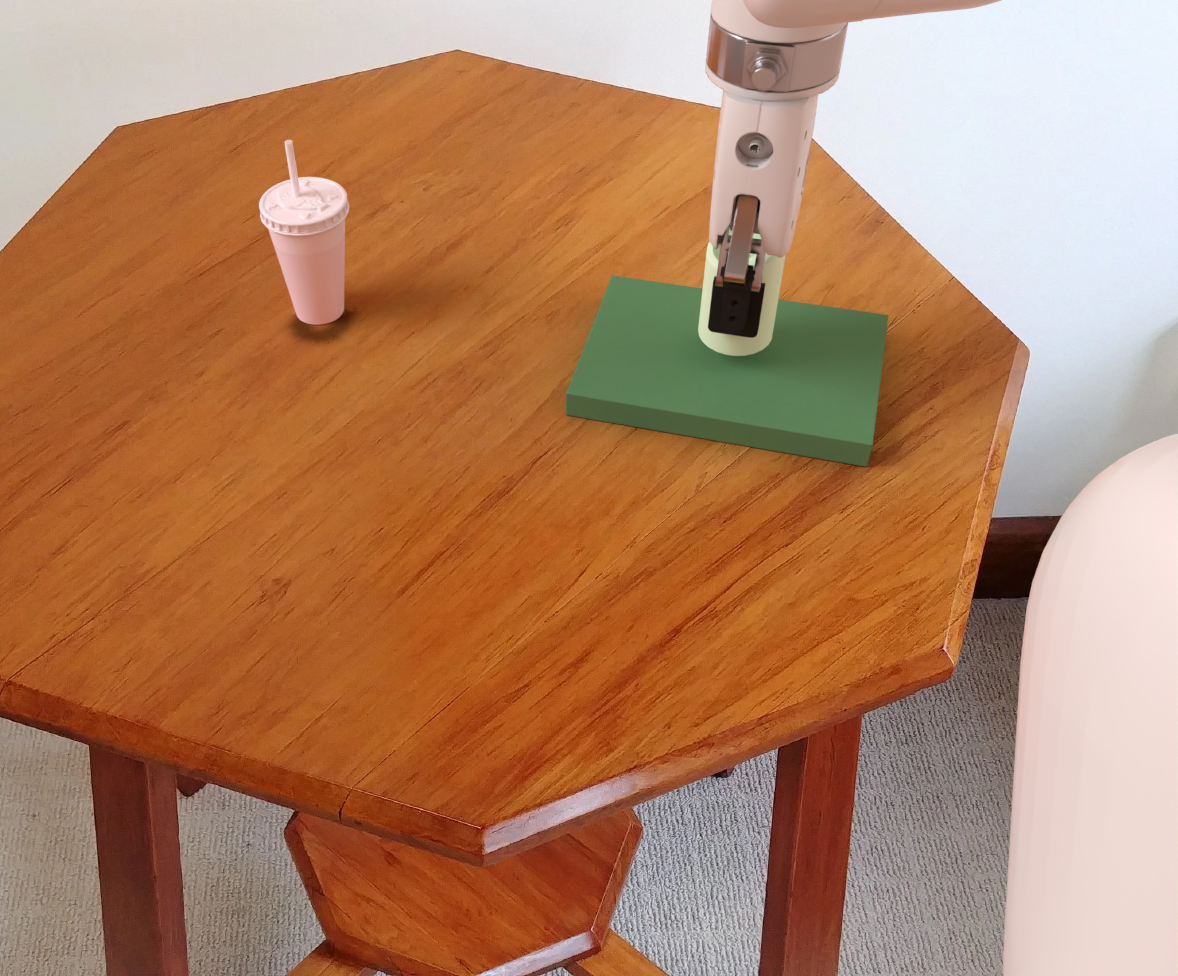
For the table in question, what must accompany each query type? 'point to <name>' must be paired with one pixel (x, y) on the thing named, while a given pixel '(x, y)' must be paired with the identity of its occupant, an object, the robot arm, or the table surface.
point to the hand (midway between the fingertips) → (738, 306)
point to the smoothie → (309, 241)
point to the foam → (733, 374)
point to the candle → (769, 306)
